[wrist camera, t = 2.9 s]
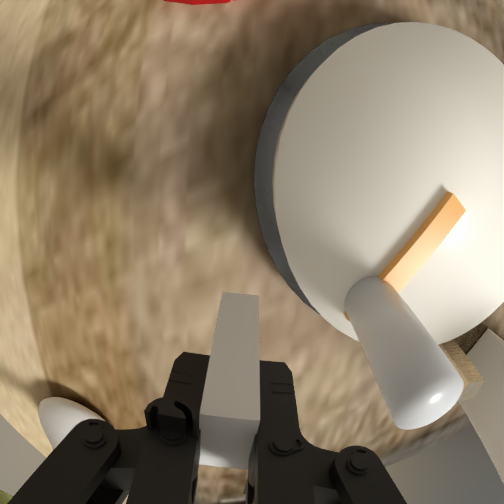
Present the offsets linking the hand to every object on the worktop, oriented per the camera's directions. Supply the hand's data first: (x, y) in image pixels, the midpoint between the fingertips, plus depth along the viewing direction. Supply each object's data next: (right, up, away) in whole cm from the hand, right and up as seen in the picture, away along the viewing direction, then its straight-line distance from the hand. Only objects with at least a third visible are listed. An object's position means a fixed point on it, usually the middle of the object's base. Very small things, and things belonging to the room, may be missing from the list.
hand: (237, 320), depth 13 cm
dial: (+12, +7, +4) cm, 14 cm away
